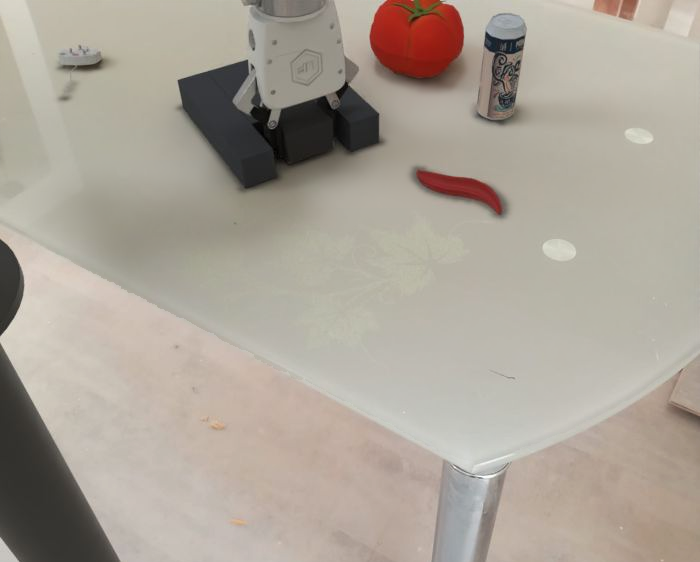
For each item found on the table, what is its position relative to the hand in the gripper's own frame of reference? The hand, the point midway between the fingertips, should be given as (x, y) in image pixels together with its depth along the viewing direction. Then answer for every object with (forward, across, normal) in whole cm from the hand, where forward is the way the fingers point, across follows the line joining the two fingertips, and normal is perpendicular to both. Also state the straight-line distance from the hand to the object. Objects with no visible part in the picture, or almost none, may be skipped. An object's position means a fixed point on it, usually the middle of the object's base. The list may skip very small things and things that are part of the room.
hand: (301, 141), depth 93 cm
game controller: (+2, -19, +33) cm, 38 cm away
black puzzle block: (+1, 0, +1) cm, 1 cm away
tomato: (+2, +23, +10) cm, 25 cm away
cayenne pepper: (+2, +12, -16) cm, 20 cm away
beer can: (+2, +25, -5) cm, 26 cm away
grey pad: (+2, 0, +7) cm, 7 cm away
